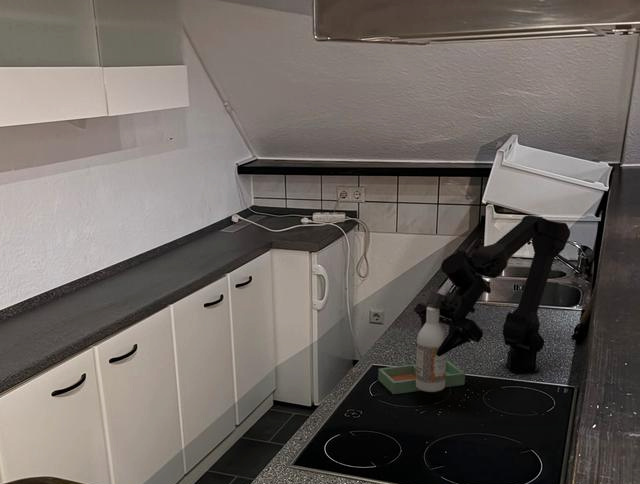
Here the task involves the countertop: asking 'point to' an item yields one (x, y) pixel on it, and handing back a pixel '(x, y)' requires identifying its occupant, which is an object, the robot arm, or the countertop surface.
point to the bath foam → (430, 354)
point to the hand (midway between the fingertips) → (427, 350)
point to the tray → (405, 377)
